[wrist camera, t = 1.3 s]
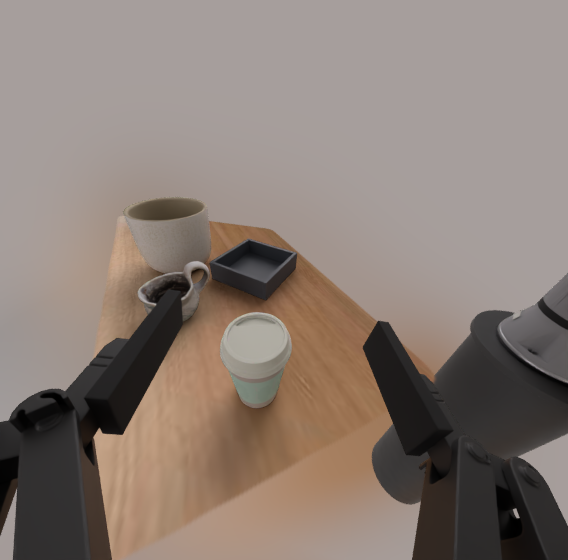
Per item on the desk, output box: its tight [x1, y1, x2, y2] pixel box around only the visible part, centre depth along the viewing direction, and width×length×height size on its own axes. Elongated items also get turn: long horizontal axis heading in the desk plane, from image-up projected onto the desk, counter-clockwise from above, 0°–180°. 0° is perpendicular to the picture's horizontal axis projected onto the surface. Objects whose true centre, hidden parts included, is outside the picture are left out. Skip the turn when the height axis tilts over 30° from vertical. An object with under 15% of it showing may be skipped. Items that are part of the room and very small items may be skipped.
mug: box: [138, 261, 210, 322], centre depth 41 cm, size 10×12×10 cm
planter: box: [123, 197, 211, 274], centre depth 53 cm, size 17×17×15 cm
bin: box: [210, 239, 297, 300], centre depth 55 cm, size 16×16×5 cm
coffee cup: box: [220, 312, 292, 408], centre depth 28 cm, size 9×8×12 cm
